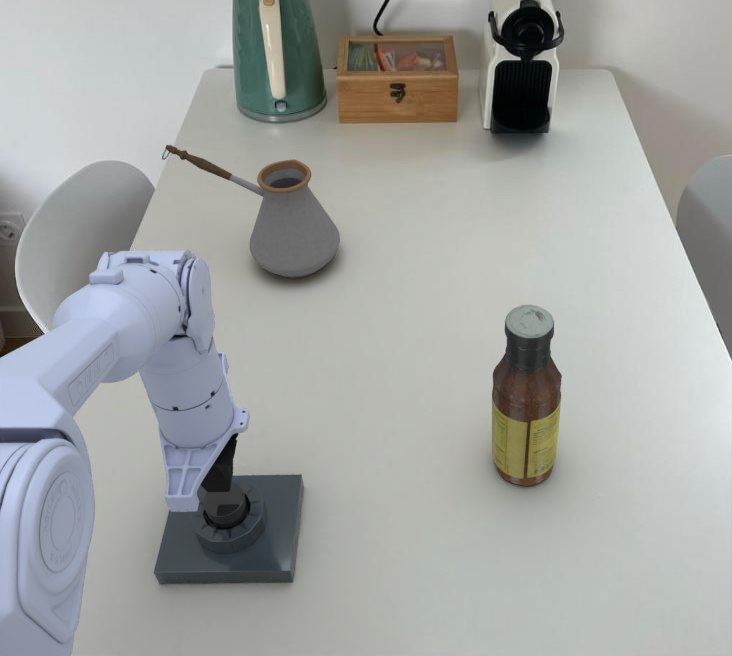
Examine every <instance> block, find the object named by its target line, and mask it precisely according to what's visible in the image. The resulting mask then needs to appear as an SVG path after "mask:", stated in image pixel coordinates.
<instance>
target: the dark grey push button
mask: <svg viewBox="0 0 732 656" xmlns="http://www.w3.org/2000/svg"><path fill="white" fill-rule="evenodd" d="M203 505H204V509H205V511H206V514H207V517H208V520H209V522H210V523H211V524H212V525H213V526H215V527H217V528H220V529H229V528H232V527H235V526H237V525H238V524H240V523H241V522H242V521H243V520H244V518H245V517H246V514H247V511H248V506H247V502H246V499H245V495H244V492H243V490H242V488H241V487H240V486H239V485H238V484H236V483H233V482H231V487H230V491H229V492H206V494H205V496H204V499H203Z"/></svg>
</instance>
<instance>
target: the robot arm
mask: <svg viewBox="0 0 732 656" xmlns="http://www.w3.org/2000/svg"><path fill="white" fill-rule="evenodd" d="M88 279H89V283H88V284H86V285H85V286H83V287H81V288H79V289H78V290H77V291H75V292H74V293H72V294H70V295H69V296H67V297H66V298H65V299H64V300H63V301H62V302H61V303H60V304H59V306H58V307H57V309H56V311H55V313H54V316H53V319H52V323H51V330H50V331H48V332H46V333H44V334H42V335H40V336H38V337H37V338H35V339H33V340H31V341H29V342H28V343H26V344H24V345H21V346H20V347H18V348H16V349H14V350H12V351H10V352H8V353H7V354H5V355H3V356H1V357H0V656H72V655H73V648H74V641H75V633H76V631H77V629H78V626H79V623H80V617H81V610H82V609H81V608H82V601H83V594H84V588H85V587H84V586H85V579H86V573H87V565H88V564H87V563H88V557H89V550H90V545H91V542H92V537H93V532H94V526H95V515H96V512H95V511H96V496H95V486H94V481H93V474H92V466H91V459H90V455H89V450H88V447H87V444H86V440H85V437H84V435H83V433H82V431H81V429H80V426H79V425H78V423H77V422H76V420H75V418H74V416H75V415H76V414H77V413H78V411H79V410H80V409H81V408H82V407H83V405H84V404H85V403H86V401H88V399H89V398H90V396H92V395H93V393H94V392H95V390H96V389H97V388H98V386H99V385H100V384H112V383H113V384H114V383H119V382H121V381H125V380H127V379H130V378H132V377H133V376H135V375H136V374H137V373H139V376H140V378H141V381H142V384H143V387H144V389H145V392H146V395H147V397H148V400H149V403H150V405H151V407H152V410H153V413H154V415H155V418H156V420H157V424H158V425H157V428H158V436H159V442H160V447H161V453H162V459H163V465H164V470H165V476H166V490H165V495H164V499H165V501H166V504H167V506H168V509H170V511H171V512H190V511H197V509H198V505H199V499H198V496H197V490H198V488H199V486H200V485H201V486H202V487H203V488H204V489H205V490H206V491H207V492H229V491H230V487H231V482H232V477H233V476H234V458H235V454H236V450H237V445H238V439H237V438H238V437H239V434H243V433H245V432H247V431H248V428H249V425H250V417H251V415H250V412H249V411H250V410H249V409H248V408H246V407H238V406H236V404H235V401H234V400H235V399H234V397H233V392H232V390H231V385H230V382H229V378H228V373H229V369H230V365H229V362H228V357H227V354H226V351H218V349H217V345H216V342H215V339H214V335H213V334H214V330H215V328H216V320H215V318H216V315H215V312H214V307H213V301H212V279H211V272H210V267H209V263H207V262H206V260H205V259H204V258H202V257H196V256H195V253H193V252H192V251H191V250H120V251H117V252H113V251H111V252H108V251H104V252H103V253H102V255H101V257H100V259H99V261H98V263H97V267H96V269H95V270H94V271H92V272H91V273H89V276H88Z"/></svg>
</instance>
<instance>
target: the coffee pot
mask: <svg viewBox="0 0 732 656" xmlns="http://www.w3.org/2000/svg"><path fill="white" fill-rule="evenodd" d="M166 152H167V154H166ZM165 154H166V155H165ZM170 154H171V155H176V156H178V157H179V158H180V160H181V161H187V162H189V163H191V164H192V165H194V166H195V167H197V168H198V169H200V170H203V171H205V172H207V173H209V174H212V175H215V176H217V177H218V178H219V177H220V178H222V179H224V180H226V181H231V182H233V183H235V184H236V185H238V186H240V187H242V188H245V189H246V190H249V191H250V192H252V193H254V194H256V195H258V196H260V197H262V200H261V203H260V207H259V210H258V213H257V216H256V219H255V222H254V226H253V229H252V232H251V236H250V238H249V252H250V254H251V256H252V258H253V260H254V261H255V262H256V263H257V264H258V265H259V266H260V267H261V268H262V269H264V270H266V271H268V272H269V273H271V274H275V275H278V276H281V277H284V278H291V279H292V278H293V279H294V278H304V277H307V276H310V275H313V274H315V273H316V272H318V271H320V270H321V269H322V268H324V266H326V265H327V264H329V262H331V261H332V259H333V258H334V256H335V255H336V253H337V252H338V249H339V246H340V243H341V235H340V234H341V233H340V231H339V229H338V228H337V225H336V224H335V222H334V221H333V220H332V218H331V217H330V215H329V214H328V212H327V211H326V210H325V208H324V207H323V205H322V204H321V203H320V201H319V199H317V196H316V195H315V194H314V193H313V191H312V190H311V188H310V187H309V183H310V181H311V179H312V171H311V169H310V167H309V166H307V165H306V164H305V163H304V162H301V161H300V160H297V159H285V160H280V161H279V160H278V161H275V162H272V163H270V164H267V165H266V166H265V167H262V169H261V170H260V171H259V172H258V174H257V177H256V182H257V184H258V185H256V184H255V183H252V182H250V181H247V180H245V179H243V178H241V177H238V176H236V175H234V174H233V173H231V172H229V171H228V170H225V169H224V168H223V167H220V166H218V165H216V164H215V163H213V162H211V161H209V160H207V159H205V158H203V157H200V156H196V155H193V154H190V153H189V152H188V151H187V150H186V149H183V150H181V149H178V147H176V146H173V145H172V144H166V145H165V149H164V151H163V153H162V156H161V160H162V161H165V160H166V159H167V158H169V156H170Z"/></svg>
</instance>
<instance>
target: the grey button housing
mask: <svg viewBox="0 0 732 656" xmlns="http://www.w3.org/2000/svg"><path fill="white" fill-rule="evenodd" d="M232 482H233V483H236V484H238V485H239V486H240V487H241V488H242V490H243V492H244V495H245V499H246V502H247V506H248V511H247V514H246V517H245V518H244V520H243V521H242V522H241V523H240V524H238V525H237V526H235V527H232V528H229V529H220V528H217V527H215V526H213V525H212V524H211V523H210V522H209V520H208V517H207V514H206V511H205V509H204V505H203V499H204V496H205V494H206V492H207V491H206V490H205V489H204V488H203V487H202V486H201V485H200V486H199V488H198V490H197V496H198V499H199V505H198V509H197V511H190V512H171V511H170V509H169V508H168V509H169V510H168V513H167V517H166V521H165V524H164V525H165V526H164V530H163V534H162V537H161V541H160V546H159V549H158V553H157V558H156V561H155V565H154V569H153V574H154V576H155V578H156V581H157V582H158V584H159V585H164V584H165V585H166V584H167V585H170V584H171V585H172V584H175V585H177V584H180V585H181V584H244V583H245V584H249V583H251V584H253V583H255V584H256V583H257V584H259V583H293V582H294V578H295V570H296V562H297V553H298V544H299V543H298V542H299V534H300V524H301V515H302V509H303V507H302V506H303V499H304V492H305V491H304V489H305V484H304V480H303V475H302V474H300V473H299V474H244V475H243V474H242V475H239V474H238V475H233V477H232Z"/></svg>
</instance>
